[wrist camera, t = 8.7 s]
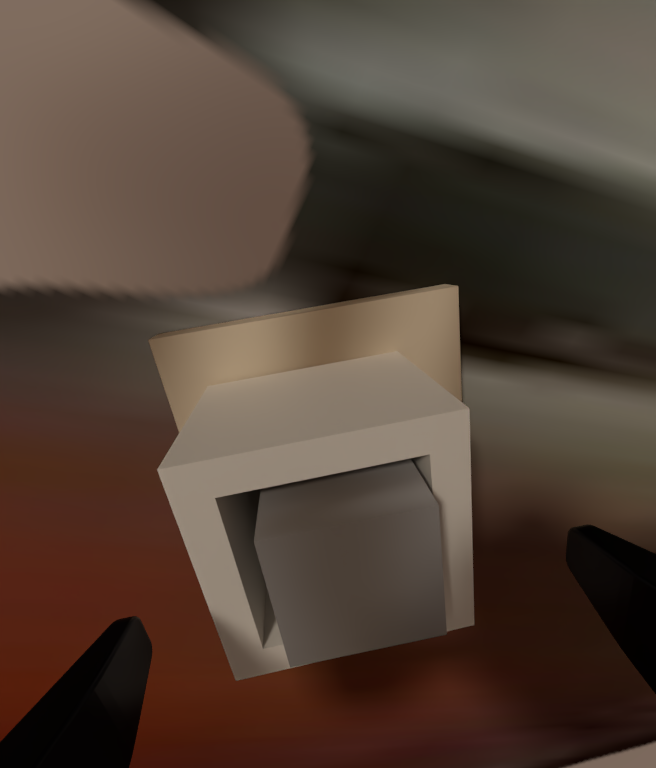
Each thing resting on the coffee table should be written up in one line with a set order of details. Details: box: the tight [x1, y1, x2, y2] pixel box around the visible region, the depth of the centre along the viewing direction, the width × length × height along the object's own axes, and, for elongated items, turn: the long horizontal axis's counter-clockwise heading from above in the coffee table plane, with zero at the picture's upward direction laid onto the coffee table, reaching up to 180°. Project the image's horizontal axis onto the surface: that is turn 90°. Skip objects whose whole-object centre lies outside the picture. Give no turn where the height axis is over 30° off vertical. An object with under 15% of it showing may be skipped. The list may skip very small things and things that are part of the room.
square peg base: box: [148, 284, 462, 668], centre depth 11 cm, size 10×10×7 cm
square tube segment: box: [157, 351, 474, 681], centre depth 11 cm, size 7×6×5 cm
